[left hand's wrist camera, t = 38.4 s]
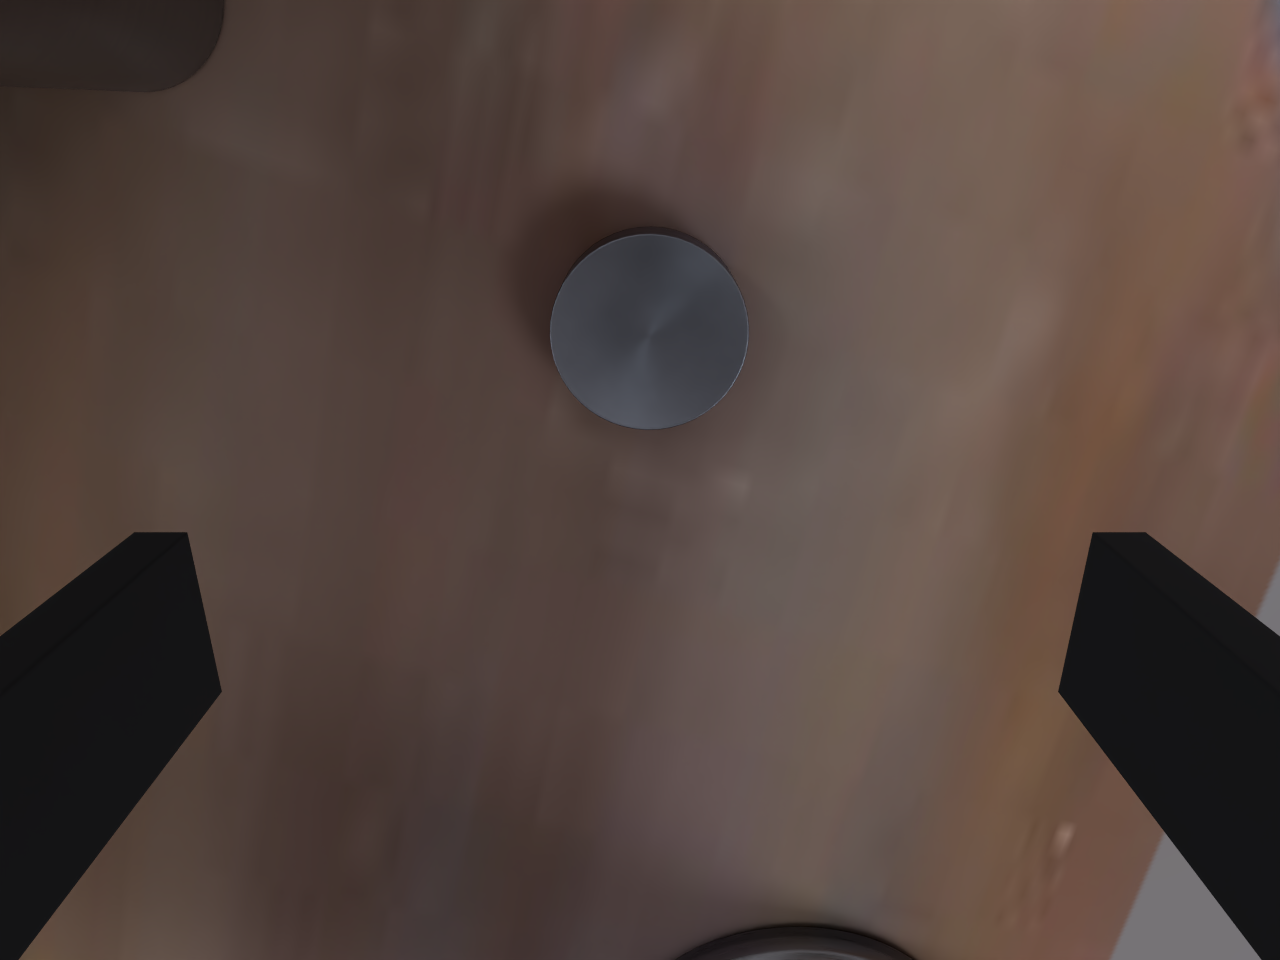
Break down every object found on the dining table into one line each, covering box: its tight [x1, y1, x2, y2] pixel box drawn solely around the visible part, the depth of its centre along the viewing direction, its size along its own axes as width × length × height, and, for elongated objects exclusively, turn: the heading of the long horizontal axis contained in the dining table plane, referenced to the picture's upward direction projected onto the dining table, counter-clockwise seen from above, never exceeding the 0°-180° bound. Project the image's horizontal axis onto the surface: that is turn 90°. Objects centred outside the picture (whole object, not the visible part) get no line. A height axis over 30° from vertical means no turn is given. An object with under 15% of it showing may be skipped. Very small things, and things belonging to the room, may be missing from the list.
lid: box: [550, 227, 749, 430], centre depth 25 cm, size 6×6×2 cm
